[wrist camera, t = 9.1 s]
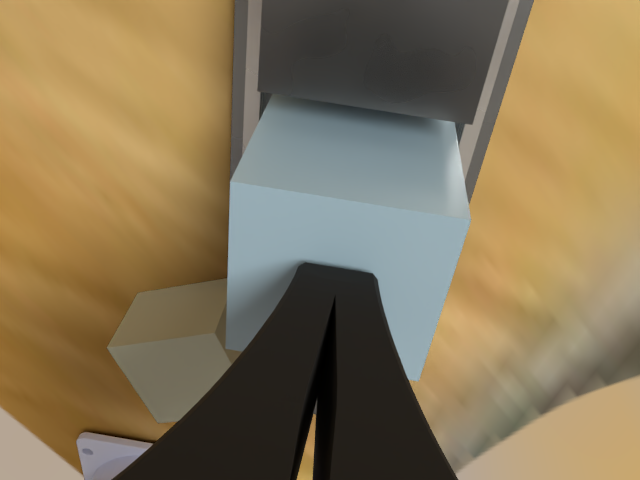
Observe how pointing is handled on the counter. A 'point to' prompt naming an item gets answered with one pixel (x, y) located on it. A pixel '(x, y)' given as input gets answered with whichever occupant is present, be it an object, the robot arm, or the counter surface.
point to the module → (347, 214)
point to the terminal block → (174, 346)
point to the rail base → (379, 62)
